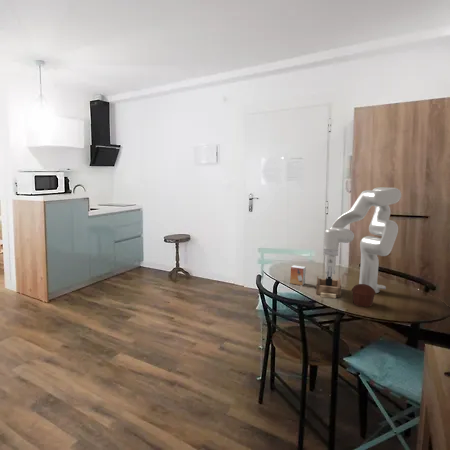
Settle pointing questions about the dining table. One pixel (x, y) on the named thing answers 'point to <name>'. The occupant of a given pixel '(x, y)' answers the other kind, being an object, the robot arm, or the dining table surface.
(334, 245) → the robot arm
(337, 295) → the walnut box
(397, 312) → the dining table surface
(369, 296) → the muffin
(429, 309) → the dining table surface
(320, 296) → the lid
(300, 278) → the small box
